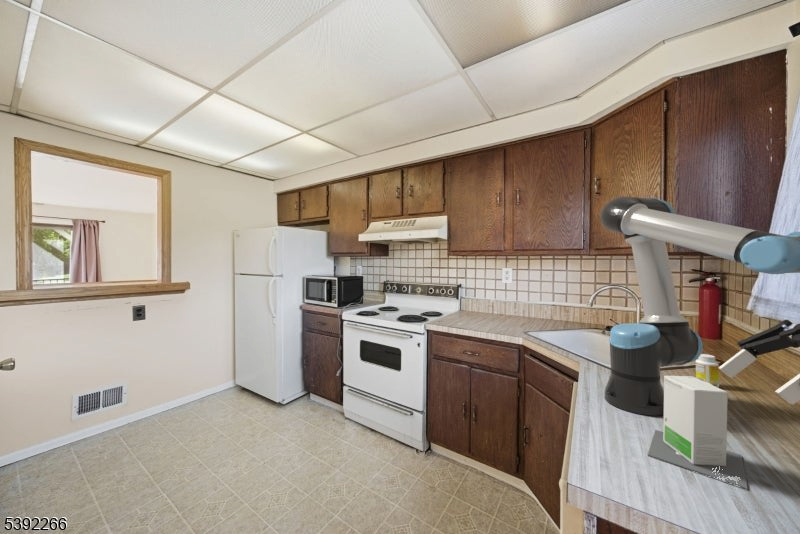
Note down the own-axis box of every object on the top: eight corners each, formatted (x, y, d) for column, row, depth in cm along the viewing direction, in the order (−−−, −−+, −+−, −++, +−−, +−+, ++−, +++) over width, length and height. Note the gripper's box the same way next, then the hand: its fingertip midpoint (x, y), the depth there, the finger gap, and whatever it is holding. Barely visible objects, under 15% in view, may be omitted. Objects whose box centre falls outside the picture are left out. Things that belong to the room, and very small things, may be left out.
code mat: (647, 455, 64) (647, 454, 64) (655, 430, 73) (655, 429, 73) (747, 490, 53) (747, 488, 53) (741, 456, 63) (741, 454, 63)
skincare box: (662, 442, 68) (660, 374, 68) (693, 443, 67) (692, 375, 67) (694, 466, 60) (692, 389, 60) (731, 468, 59) (728, 390, 59)
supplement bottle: (720, 385, 101) (719, 355, 101) (718, 389, 97) (717, 358, 97) (697, 380, 105) (696, 352, 105) (695, 384, 102) (694, 355, 102)
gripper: (974, 342, 44) (840, 430, 48) (800, 316, 68) (720, 376, 71) (920, 306, 45) (795, 394, 49) (769, 293, 69) (692, 353, 73)
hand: (750, 384), depth 60 cm, fingers open, 13 cm apart
